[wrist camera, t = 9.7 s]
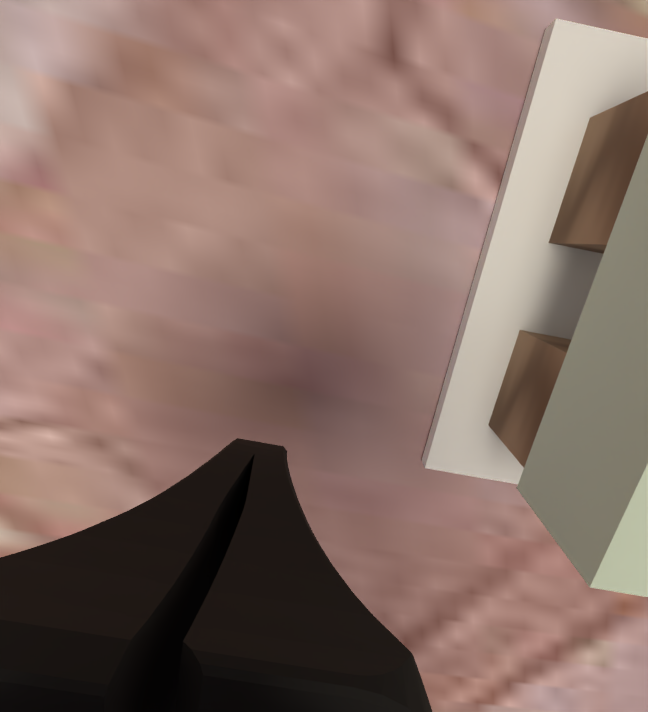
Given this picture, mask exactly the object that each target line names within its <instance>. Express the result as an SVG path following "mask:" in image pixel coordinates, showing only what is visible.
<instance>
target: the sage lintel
mask: <svg viewBox="0 0 648 712" xmlns="http://www.w3.org/2000/svg"><path fill="white" fill-rule="evenodd" d="M517 489H518V491H519V492H520V493H521V495H522V496H523V497H524V499H525V500H526V501H527V503H528V504H529V506H530V507H531V508H532V510H533V511H534V512H535V514H536V515H537V516H538V518H539V519H540V520H541V522H542V523H543V525H544V526H545V527H546V529H547V530H548V531H549V533H550V534H551V535H552V537H553V538H554V539H555V541H556V542H557V544H558V545H559V546H560V548H561V549H562V550H563V552H564V553H565V554H566V556H567V557H568V558H569V560H570V561H571V563H572V564H573V565H574V567H575V568H576V569H577V571H578V572H579V573H580V575H581V576H582V577H583V579H584V580H585V582H586V583H587V584H588V586H589V587H591V588H597V589H603V590H609V591H615V592H621V593H627V594H633V595H638V596H644V597H648V135H647V138H646V141H645V143H644V146H643V149H642V151H641V154H640V157H639V159H638V162H637V165H636V168H635V170H634V173H633V176H632V178H631V181H630V184H629V186H628V189H627V192H626V194H625V197H624V200H623V203H622V205H621V208H620V211H619V213H618V216H617V219H616V221H615V224H614V227H613V230H612V232H611V235H610V238H609V240H608V243H607V246H606V248H605V251H604V254H603V256H602V259H601V262H600V265H599V267H598V270H597V273H596V275H595V278H594V281H593V283H592V286H591V289H590V292H589V294H588V297H587V300H586V302H585V305H584V308H583V310H582V313H581V316H580V318H579V321H578V324H577V327H576V329H575V332H574V335H573V337H572V340H571V343H570V345H569V348H568V351H567V354H566V356H565V359H564V362H563V364H562V367H561V370H560V372H559V375H558V378H557V380H556V383H555V386H554V389H553V391H552V394H551V397H550V399H549V402H548V405H547V407H546V410H545V413H544V416H543V418H542V421H541V424H540V426H539V429H538V432H537V434H536V437H535V440H534V442H533V445H532V448H531V451H530V453H529V456H528V459H527V461H526V464H525V467H524V469H523V472H522V475H521V478H520V480H519V483H518V486H517Z"/></svg>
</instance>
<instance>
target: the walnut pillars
mask: <svg viewBox="0 0 648 712" xmlns="http://www.w3.org/2000/svg"><path fill="white" fill-rule="evenodd" d="M647 135H648V91H647V92H645V93H643V94H641V95H638V96H636V97H634V98H632V99H630V100H628V101H625V102H623V103H621V104H619V105H617V106H615V107H612V108H610V109H608V110H606V111H604V112H601V113H599V114H597V115H595V116H593V117H591V118H590V119H589V122H588V125H587V128H586V131H585V134H584V137H583V140H582V143H581V146H580V149H579V152H578V155H577V158H576V161H575V164H574V167H573V170H572V173H571V176H570V179H569V182H568V185H567V188H566V191H565V195H564V198H563V201H562V204H561V207H560V210H559V213H558V216H557V219H556V222H555V225H554V228H553V231H552V234H551V237H550V240H549V243H552V244H557V245H562V246H567V247H572V248H577V249H582V250H587V251H592V252H597V253H602V254H604V251H605V248H606V246H607V243H608V240H609V238H610V235H611V232H612V230H613V227H614V224H615V221H616V219H617V216H618V213H619V211H620V208H621V205H622V203H623V200H624V197H625V194H626V192H627V189H628V186H629V184H630V181H631V178H632V176H633V173H634V170H635V168H636V165H637V162H638V159H639V157H640V154H641V151H642V149H643V146H644V143H645V141H646V138H647ZM570 343H571V339H566V338H560V337H555V336H550V335H545V334H539V333H534V332H529V331H524V330H519V334H518V337H517V340H516V343H515V346H514V349H513V352H512V355H511V358H510V361H509V364H508V367H507V370H506V373H505V376H504V379H503V382H502V385H501V388H500V391H499V394H498V397H497V400H496V403H495V406H494V409H493V412H492V415H491V418H490V421H489V424H488V425H489V427H490V428H491V429H492V430H493V431H494V433H495V434H496V435H497V436H498V437H499V439H500V440H501V441H502V442H503V443H504V445H505V446H506V447H507V448H508V449H509V451H510V452H511V453H512V454H513V455H514V457H515V458H516V459H517V460H518V461H519V463H520V464H521V465H522V466H523V467H525V464H526V461H527V459H528V456H529V453H530V451H531V448H532V445H533V442H534V440H535V437H536V434H537V432H538V429H539V426H540V424H541V421H542V418H543V416H544V413H545V410H546V407H547V405H548V402H549V399H550V397H551V394H552V391H553V389H554V386H555V383H556V380H557V378H558V375H559V372H560V370H561V367H562V364H563V362H564V359H565V356H566V354H567V351H568V348H569V345H570Z"/></svg>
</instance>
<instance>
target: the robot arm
mask: <svg viewBox="0 0 648 712" xmlns="http://www.w3.org/2000/svg"><path fill="white" fill-rule="evenodd" d="M0 712H432V709H431V706H430V703H429V700H428V697H427V694H426V691H425V688H424V685H423V682H422V679H421V676H420V673H419V671H418V668H417V665H416V662H415V660H414V657H413V655H412V653H411V652H410V651H409V650H408V649H407V648H406V647H405V646H404V645H403V644H402V643H401V642H400V641H399V640H398V639H397V638H396V637H395V636H394V635H393V634H392V633H391V632H390V631H389V630H388V629H386V628H385V627H384V626H383V625H382V624H381V623H380V622H379V621H378V620H377V619H376V618H375V617H374V616H373V615H372V614H371V613H370V612H369V610H368V609H367V608H366V607H365V606H364V605H363V604H362V602H361V601H360V600H359V599H358V598H357V597H356V596H355V594H354V593H353V592H352V591H351V589H350V588H349V587H348V585H347V584H346V583H345V581H344V580H343V579H342V577H341V576H340V575H339V573H338V572H337V571H336V569H335V568H334V567H333V565H332V564H331V562H330V561H329V559H328V557H327V556H326V554H325V553H324V551H323V550H322V548H321V546H320V544H319V543H318V541H317V539H316V537H315V536H314V534H313V532H312V530H311V528H310V526H309V524H308V522H307V520H306V517H305V515H304V513H303V511H302V508H301V506H300V503H299V501H298V498H297V495H296V492H295V489H294V486H293V483H292V480H291V477H290V473H289V468H288V463H287V451H286V449H285V448H284V446H278V445H272V444H267V443H261V442H255V441H250V440H244V439H238V438H237V439H236V440H234V441H232V442H231V443H230V444H229V445H228V446H226V447H225V448H224V449H223V450H222V451H220V452H219V453H218V454H217V455H215V456H214V457H213V458H212V459H210V460H209V461H208V462H206V463H205V464H204V465H202V466H201V467H200V468H198V469H197V470H195V471H194V472H193V473H191V474H190V475H189V476H187V477H186V478H184V479H183V480H181V481H179V482H178V483H176V484H175V485H173V486H172V487H170V488H169V489H167V490H166V491H164V492H162V493H161V494H159V495H157V496H156V497H154V498H152V499H150V500H148V501H146V502H144V503H142V504H140V505H139V506H137V507H135V508H133V509H131V510H129V511H127V512H124V513H122V514H120V515H118V516H115V517H113V518H111V519H108V520H106V521H104V522H101V523H99V524H97V525H94V526H92V527H89V528H87V529H85V530H82V531H80V532H77V533H75V534H72V535H69V536H66V537H64V538H61V539H58V540H55V541H52V542H49V543H46V544H43V545H40V546H37V547H34V548H31V549H28V550H25V551H21V552H18V553H15V554H11V555H8V556H5V557H1V558H0Z"/></svg>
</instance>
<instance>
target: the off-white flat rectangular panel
mask: <svg viewBox="0 0 648 712" xmlns="http://www.w3.org/2000/svg"><path fill="white" fill-rule="evenodd" d="M647 91H648V38H643V37H638V36H634V35H629V34H625V33H620V32H615V31H611V30H606V29H602V28H597V27H593V26H588V25H583V24H579V23H574V22H570V21H565V20H560V19H555V20H554V21H553V22H552V23H551V24H550V25H549V26H548V27H547V28H546V29H545V33H544V36H543V39H542V43H541V46H540V50H539V53H538V57H537V60H536V64H535V67H534V71H533V74H532V78H531V81H530V85H529V88H528V92H527V95H526V99H525V102H524V106H523V109H522V112H521V116H520V119H519V123H518V126H517V130H516V133H515V137H514V140H513V144H512V147H511V151H510V154H509V158H508V161H507V165H506V168H505V172H504V175H503V179H502V182H501V186H500V189H499V192H498V196H497V199H496V203H495V206H494V210H493V213H492V217H491V220H490V224H489V227H488V231H487V234H486V238H485V241H484V245H483V248H482V252H481V255H480V259H479V262H478V266H477V269H476V272H475V276H474V279H473V283H472V286H471V290H470V293H469V297H468V300H467V304H466V307H465V311H464V314H463V318H462V321H461V325H460V328H459V332H458V335H457V339H456V342H455V346H454V349H453V352H452V356H451V359H450V363H449V366H448V370H447V373H446V377H445V380H444V384H443V387H442V391H441V394H440V398H439V401H438V405H437V408H436V412H435V415H434V419H433V422H432V426H431V429H430V432H429V436H428V439H427V443H426V446H425V450H424V453H423V457H422V462H423V465H424V467H425V468H427V469H433V470H438V471H444V472H450V473H456V474H461V475H467V476H473V477H478V478H484V479H490V480H495V481H501V482H507V483H513V484H518V483H519V480H520V478H521V475H522V472H523V469H524V467H523V466H522V465H521V464H520V463H519V461H518V460H517V459H516V458H515V457H514V455H513V454H512V453H511V452H510V451H509V449H508V448H507V447H506V446H505V445H504V443H503V442H502V441H501V440H500V439H499V437H498V436H497V435H496V434H495V433H494V431H493V430H492V429H491V428H490V427H489V425H488V424H489V421H490V418H491V415H492V412H493V409H494V406H495V403H496V400H497V397H498V394H499V391H500V388H501V385H502V382H503V379H504V376H505V373H506V370H507V367H508V364H509V361H510V358H511V355H512V352H513V349H514V346H515V343H516V340H517V337H518V334H519V330H524V331H529V332H534V333H539V334H545V335H550V336H555V337H560V338H566V339H571V340H572V337H573V335H574V332H575V329H576V327H577V324H578V321H579V318H580V316H581V313H582V310H583V308H584V305H585V302H586V300H587V297H588V294H589V292H590V289H591V286H592V283H593V281H594V278H595V275H596V273H597V270H598V267H599V265H600V262H601V259H602V256H603V254H602V253H597V252H592V251H587V250H582V249H577V248H572V247H567V246H562V245H557V244H552V243H549V240H550V237H551V234H552V231H553V228H554V225H555V222H556V219H557V216H558V213H559V210H560V207H561V204H562V201H563V198H564V195H565V191H566V188H567V185H568V182H569V179H570V176H571V173H572V170H573V167H574V164H575V161H576V158H577V155H578V152H579V149H580V146H581V143H582V140H583V137H584V134H585V131H586V128H587V125H588V122H589V119H590V118H591V117H593V116H595V115H597V114H599V113H601V112H604V111H606V110H608V109H610V108H612V107H615V106H617V105H619V104H621V103H623V102H625V101H628V100H630V99H632V98H634V97H636V96H638V95H641V94H643V93H645V92H647Z"/></svg>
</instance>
